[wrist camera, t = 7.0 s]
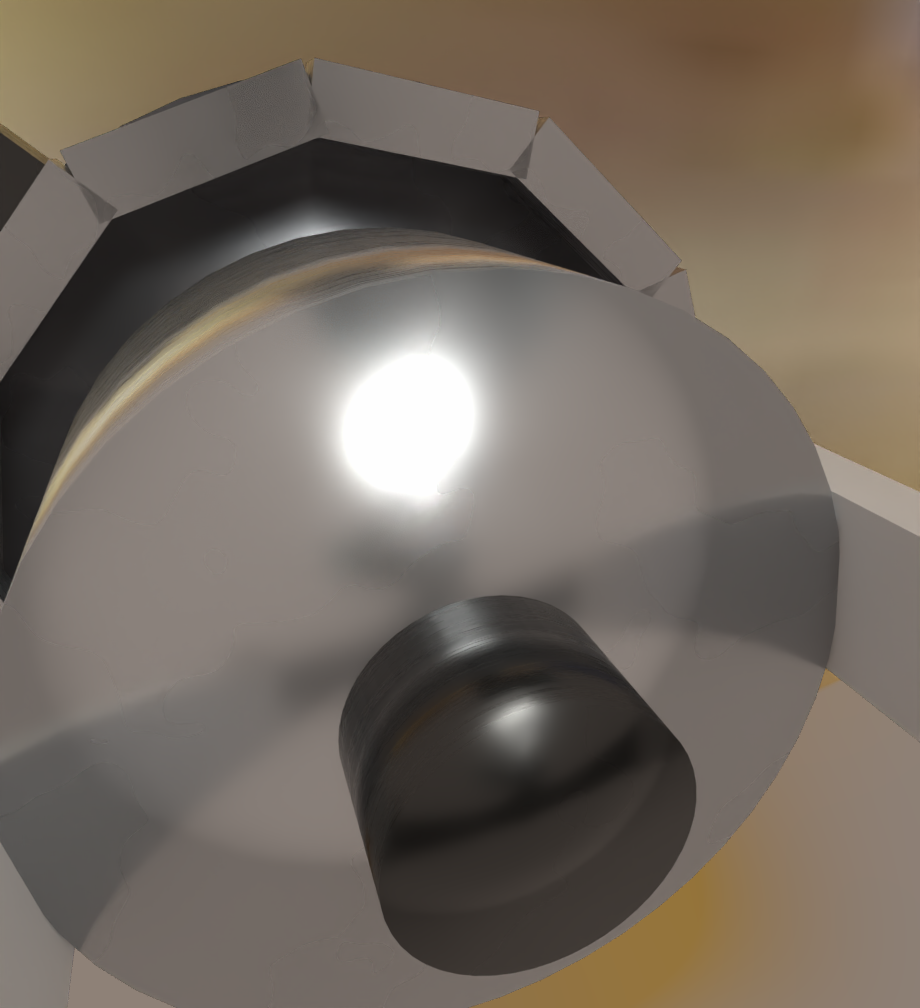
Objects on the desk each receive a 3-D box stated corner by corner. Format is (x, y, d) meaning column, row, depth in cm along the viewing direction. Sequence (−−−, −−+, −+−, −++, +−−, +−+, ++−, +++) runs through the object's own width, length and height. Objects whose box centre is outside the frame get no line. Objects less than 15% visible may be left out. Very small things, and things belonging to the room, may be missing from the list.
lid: (321, 58, 10) (509, -59, 5) (756, 468, 15) (1110, 661, 9) (-99, 655, 11) (-365, 1152, 6) (426, 858, 16) (563, 1238, 11)
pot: (-228, 413, 18) (-480, 582, 11) (136, -151, 16) (108, -374, 9) (408, 723, 26) (490, 922, 20) (687, 382, 25) (883, 472, 18)
